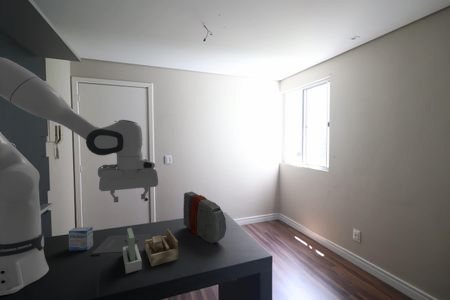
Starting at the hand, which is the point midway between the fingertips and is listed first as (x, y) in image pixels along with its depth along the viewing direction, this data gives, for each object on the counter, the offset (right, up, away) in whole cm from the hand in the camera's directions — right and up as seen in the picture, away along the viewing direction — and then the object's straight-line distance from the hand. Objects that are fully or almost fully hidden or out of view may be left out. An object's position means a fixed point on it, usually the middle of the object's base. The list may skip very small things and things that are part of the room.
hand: (130, 200), depth 82 cm
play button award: (-10, -25, +16) cm, 31 cm away
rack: (+10, -24, +7) cm, 27 cm away
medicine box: (-27, -24, +13) cm, 39 cm away
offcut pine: (+8, -19, +6) cm, 22 cm away
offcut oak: (+8, -24, +6) cm, 26 cm away
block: (0, -25, +1) cm, 25 cm away
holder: (0, -25, +1) cm, 25 cm away
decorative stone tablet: (+25, -24, +24) cm, 42 cm away
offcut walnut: (+9, -21, +5) cm, 24 cm away
